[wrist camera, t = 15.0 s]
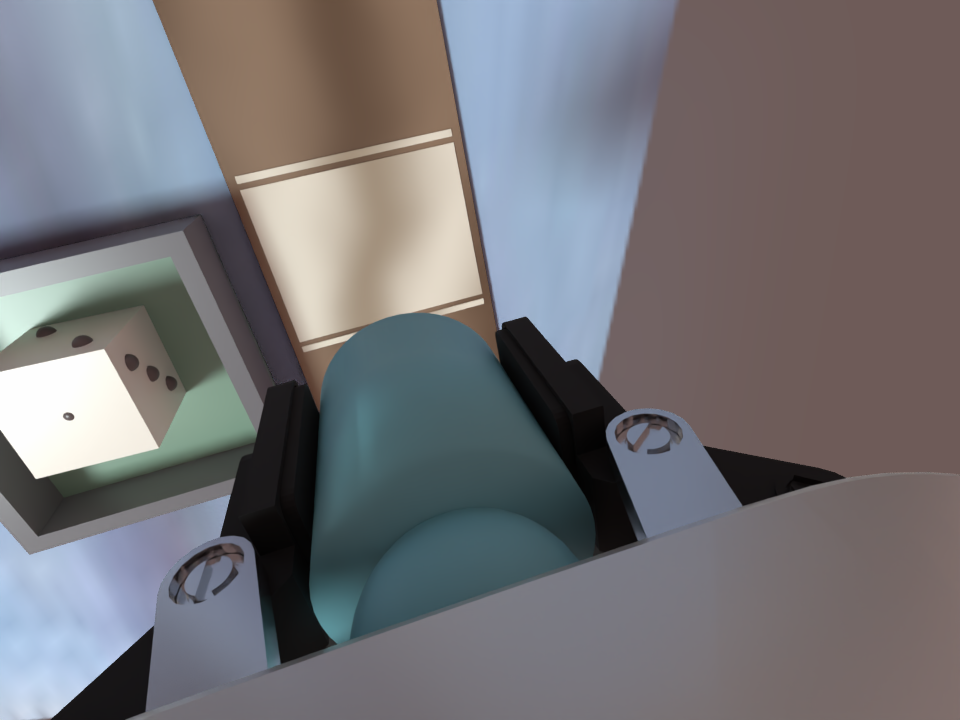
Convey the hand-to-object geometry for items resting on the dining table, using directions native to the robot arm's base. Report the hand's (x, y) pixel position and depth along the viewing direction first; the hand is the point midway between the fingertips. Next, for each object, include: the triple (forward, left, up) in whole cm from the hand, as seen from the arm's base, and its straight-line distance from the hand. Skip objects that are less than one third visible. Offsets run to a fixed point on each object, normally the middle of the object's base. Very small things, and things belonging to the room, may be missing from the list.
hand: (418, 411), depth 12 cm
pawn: (0, 0, -1) cm, 1 cm away
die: (-13, -2, -14) cm, 19 cm away
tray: (-13, -3, -15) cm, 19 cm away
